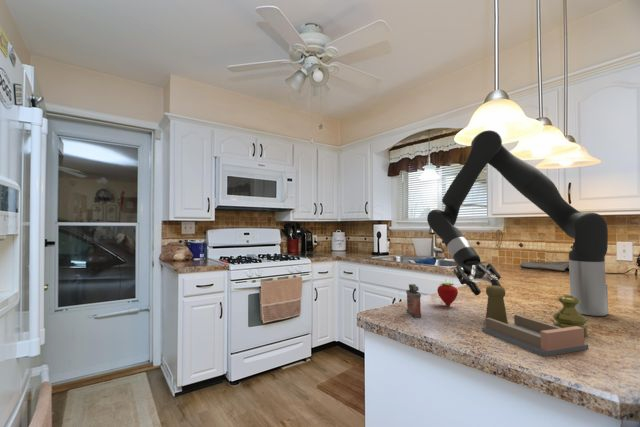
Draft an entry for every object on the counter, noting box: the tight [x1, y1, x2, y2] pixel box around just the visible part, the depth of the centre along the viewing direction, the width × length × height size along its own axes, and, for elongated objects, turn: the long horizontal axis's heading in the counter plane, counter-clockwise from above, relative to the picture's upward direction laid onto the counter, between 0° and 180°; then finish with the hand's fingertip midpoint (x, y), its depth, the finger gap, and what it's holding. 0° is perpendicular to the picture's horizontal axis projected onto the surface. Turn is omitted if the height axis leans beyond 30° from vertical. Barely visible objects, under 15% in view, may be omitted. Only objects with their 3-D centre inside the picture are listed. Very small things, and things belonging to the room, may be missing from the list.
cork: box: [485, 285, 509, 324], centre depth 97 cm, size 6×6×11 cm
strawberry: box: [436, 278, 459, 307], centre depth 116 cm, size 6×8×10 cm
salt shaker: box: [552, 294, 588, 337], centre depth 87 cm, size 7×7×10 cm
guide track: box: [481, 314, 590, 357], centre depth 82 cm, size 14×18×5 cm
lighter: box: [405, 283, 422, 319], centre depth 106 cm, size 8×3×10 cm, turn 5°
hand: (489, 293), depth 99 cm, fingers open, 8 cm apart
